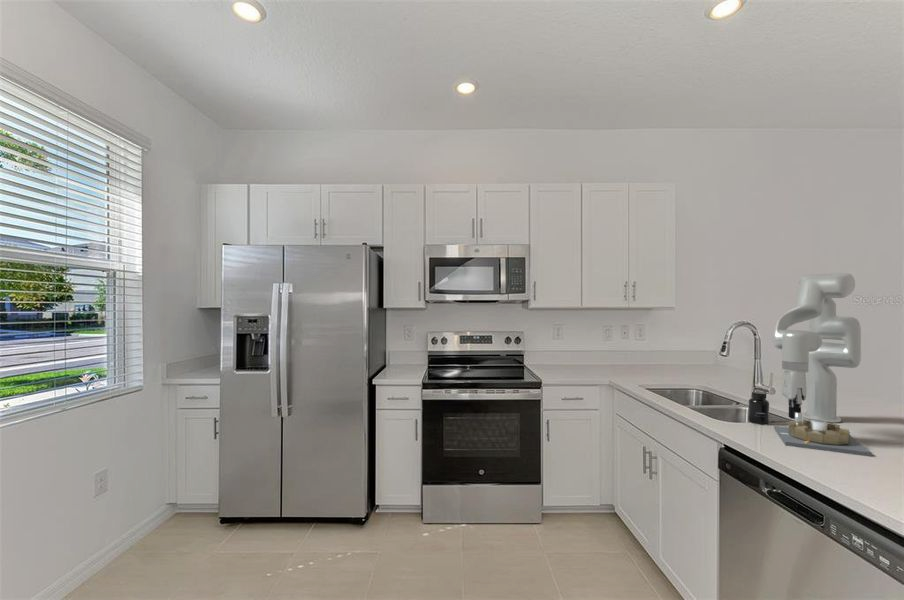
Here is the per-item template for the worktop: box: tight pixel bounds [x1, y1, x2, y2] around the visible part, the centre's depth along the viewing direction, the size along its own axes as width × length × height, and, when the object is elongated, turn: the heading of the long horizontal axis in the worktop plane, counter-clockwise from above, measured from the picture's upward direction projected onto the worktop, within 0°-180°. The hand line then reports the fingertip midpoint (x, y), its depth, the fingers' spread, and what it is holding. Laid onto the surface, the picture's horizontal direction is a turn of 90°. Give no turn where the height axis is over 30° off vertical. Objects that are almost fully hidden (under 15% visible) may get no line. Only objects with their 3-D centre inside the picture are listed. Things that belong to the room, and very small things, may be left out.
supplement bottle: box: [747, 391, 770, 426], centre depth 180 cm, size 7×7×12 cm
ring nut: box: [788, 411, 851, 445], centre depth 156 cm, size 16×16×8 cm
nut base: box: [773, 419, 873, 457], centre depth 156 cm, size 22×22×7 cm
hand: (794, 418), depth 160 cm, fingers closed
